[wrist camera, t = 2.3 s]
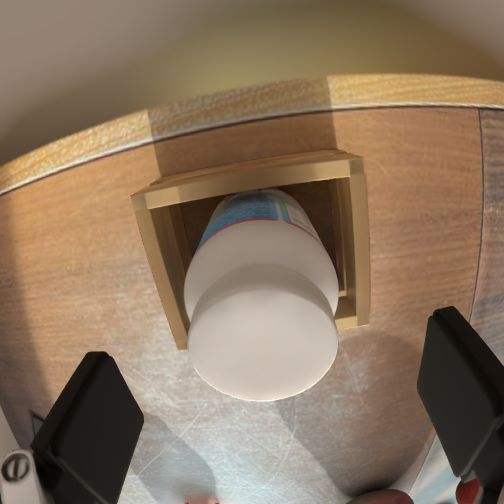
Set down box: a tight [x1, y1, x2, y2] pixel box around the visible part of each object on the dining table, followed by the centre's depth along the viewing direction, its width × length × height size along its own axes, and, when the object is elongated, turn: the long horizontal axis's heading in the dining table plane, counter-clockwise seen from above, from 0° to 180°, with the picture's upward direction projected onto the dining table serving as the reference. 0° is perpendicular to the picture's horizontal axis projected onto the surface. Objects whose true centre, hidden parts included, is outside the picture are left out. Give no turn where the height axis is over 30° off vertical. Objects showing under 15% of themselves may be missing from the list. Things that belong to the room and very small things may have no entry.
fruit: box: [455, 478, 480, 504], centre depth 30 cm, size 11×10×10 cm
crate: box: [131, 149, 370, 350], centre depth 17 cm, size 11×9×5 cm
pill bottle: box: [184, 187, 339, 401], centre depth 15 cm, size 6×6×11 cm
